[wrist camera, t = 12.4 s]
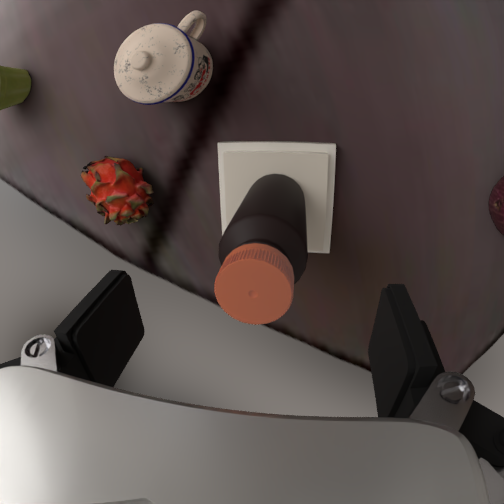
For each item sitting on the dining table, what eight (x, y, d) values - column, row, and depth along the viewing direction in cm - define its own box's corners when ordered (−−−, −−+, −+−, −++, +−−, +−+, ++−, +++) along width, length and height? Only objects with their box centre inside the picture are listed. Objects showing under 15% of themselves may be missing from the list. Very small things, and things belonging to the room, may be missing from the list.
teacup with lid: (189, 116, 37) (149, 122, 27) (136, 83, 36) (85, 81, 25) (243, 40, 32) (221, 14, 22) (185, 9, 31) (146, -19, 20)
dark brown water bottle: (245, 173, 36) (191, 243, 19) (304, 172, 35) (310, 242, 17) (249, 228, 39) (207, 334, 21) (305, 227, 38) (307, 337, 20)
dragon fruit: (166, 210, 45) (112, 163, 45) (173, 177, 37) (110, 126, 37) (125, 250, 41) (71, 197, 40) (122, 222, 33) (61, 163, 33)
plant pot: (3, 112, 39) (-32, 120, 31) (9, 62, 35) (-27, 64, 27) (34, 113, 39) (-4, 120, 31) (41, 58, 34) (3, 58, 27)
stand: (334, 143, 36) (337, 146, 33) (328, 248, 42) (330, 258, 40) (220, 141, 38) (214, 144, 35) (225, 244, 44) (220, 253, 41)
